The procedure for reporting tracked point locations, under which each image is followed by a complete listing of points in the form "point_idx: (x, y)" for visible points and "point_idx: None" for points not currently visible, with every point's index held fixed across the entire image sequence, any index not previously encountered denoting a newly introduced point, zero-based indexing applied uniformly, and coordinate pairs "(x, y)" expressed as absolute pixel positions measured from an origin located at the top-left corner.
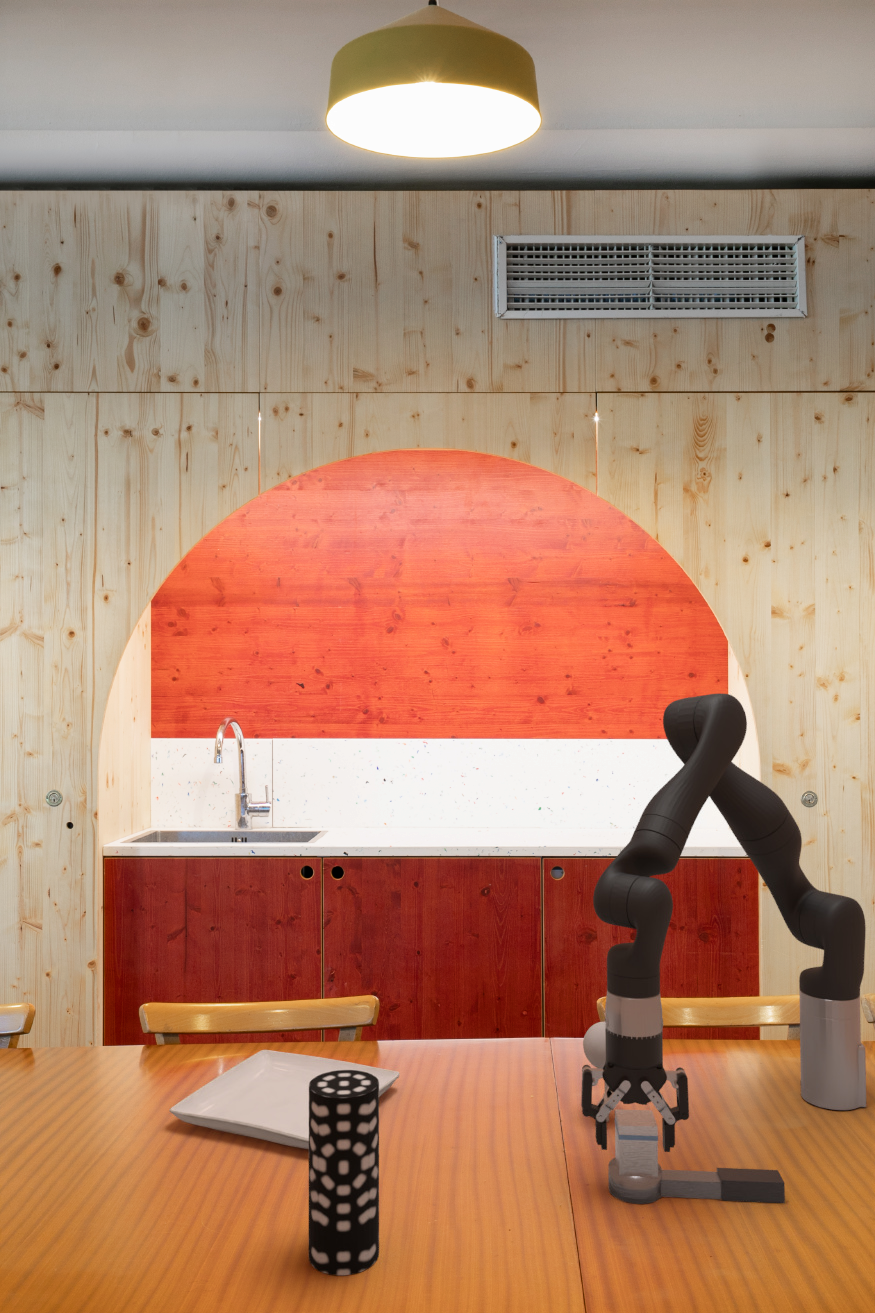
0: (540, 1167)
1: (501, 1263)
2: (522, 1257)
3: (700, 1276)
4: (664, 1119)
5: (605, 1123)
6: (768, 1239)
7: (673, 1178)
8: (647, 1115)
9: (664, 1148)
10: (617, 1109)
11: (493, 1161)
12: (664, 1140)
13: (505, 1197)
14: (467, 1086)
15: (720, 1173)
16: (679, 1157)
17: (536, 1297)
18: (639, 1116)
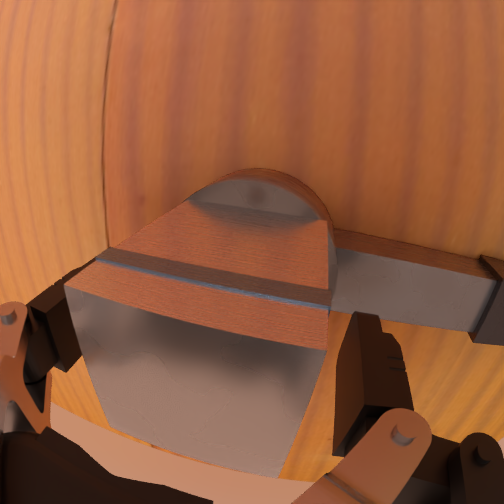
0: (58, 121)
1: (65, 379)
2: (80, 379)
3: (293, 459)
4: (360, 429)
5: (62, 370)
6: (443, 414)
7: (362, 306)
8: (259, 408)
9: (339, 361)
10: (73, 293)
11: (4, 112)
12: (338, 387)
13: (26, 241)
14: None
15: (492, 311)
16: (451, 64)
17: (109, 427)
18: (203, 405)
